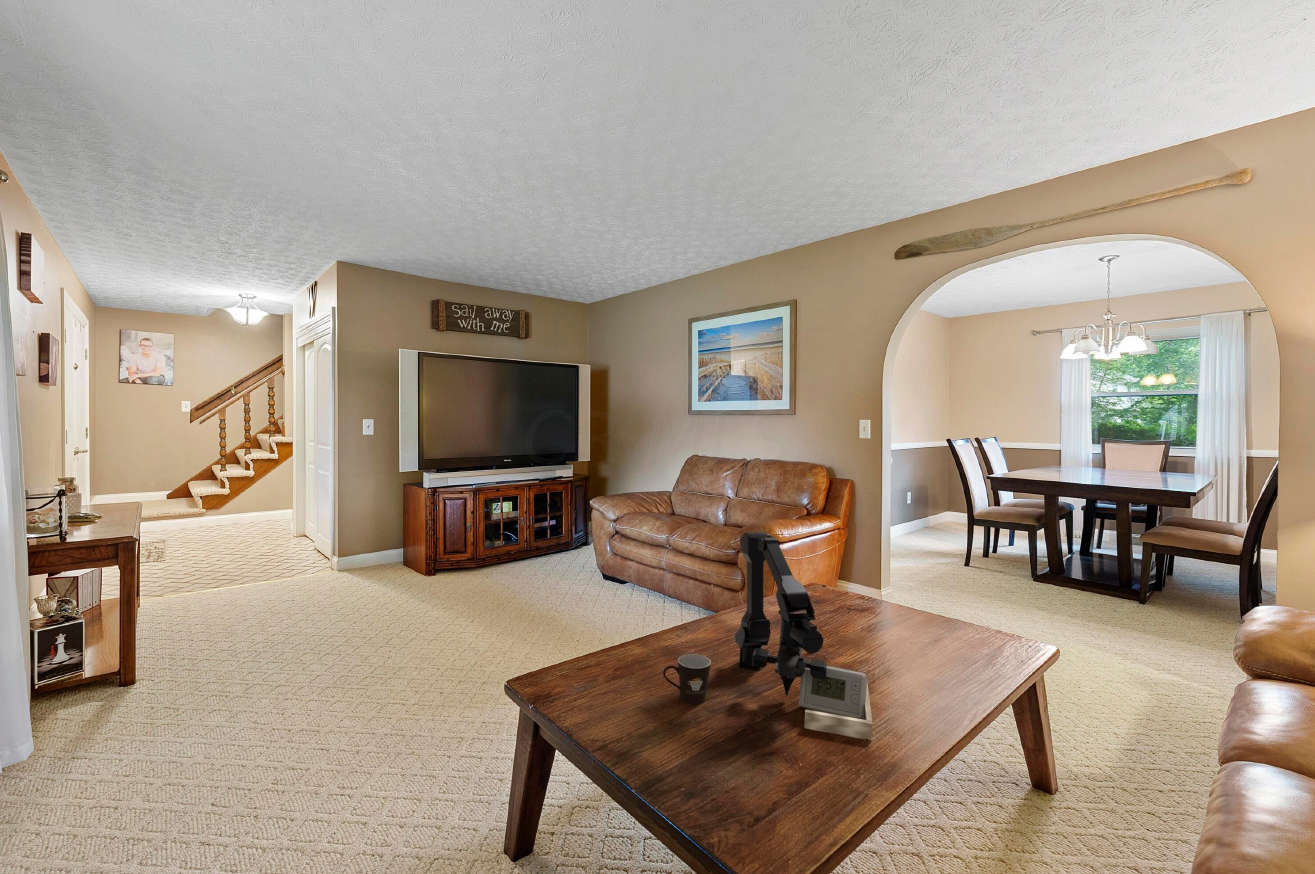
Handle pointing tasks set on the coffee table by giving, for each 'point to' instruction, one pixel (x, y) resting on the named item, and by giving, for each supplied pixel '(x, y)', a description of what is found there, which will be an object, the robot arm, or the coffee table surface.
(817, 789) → the coffee table surface
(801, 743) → the coffee table surface
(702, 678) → the coffee mug
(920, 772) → the coffee table surface
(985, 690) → the coffee table surface
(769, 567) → the robot arm
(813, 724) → the bay
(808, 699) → the digital clock
